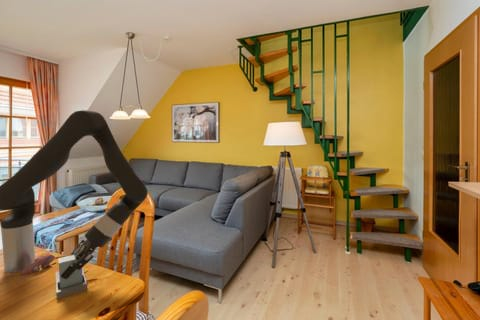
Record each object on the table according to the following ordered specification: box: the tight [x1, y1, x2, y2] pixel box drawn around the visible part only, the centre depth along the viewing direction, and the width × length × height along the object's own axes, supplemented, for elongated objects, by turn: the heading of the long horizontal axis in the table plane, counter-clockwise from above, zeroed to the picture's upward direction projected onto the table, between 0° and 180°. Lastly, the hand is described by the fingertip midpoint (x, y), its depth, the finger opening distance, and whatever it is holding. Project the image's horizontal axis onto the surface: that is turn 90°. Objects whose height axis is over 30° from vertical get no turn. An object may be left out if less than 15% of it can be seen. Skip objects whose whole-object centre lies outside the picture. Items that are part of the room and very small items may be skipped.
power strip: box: [55, 266, 88, 300], centre depth 83 cm, size 15×8×4 cm, turn 38°
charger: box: [57, 254, 82, 289], centre depth 80 cm, size 4×6×8 cm, turn 128°
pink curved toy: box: [20, 253, 55, 276], centre depth 94 cm, size 10×5×7 cm, turn 169°
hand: (63, 274), depth 79 cm, fingers closed on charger, 4 cm apart
